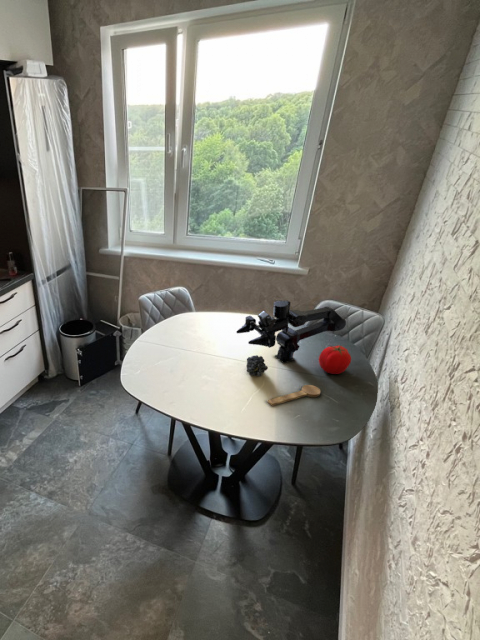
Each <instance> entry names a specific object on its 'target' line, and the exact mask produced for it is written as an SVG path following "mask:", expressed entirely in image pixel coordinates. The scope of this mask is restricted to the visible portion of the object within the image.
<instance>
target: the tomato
mask: <svg viewBox="0 0 480 640" xmlns="http://www.w3.org/2000/svg"><path fill="white" fill-rule="evenodd" d="M328 345H329V344H328ZM351 362H352V356H351V354H350V353H349V351H348V348H346V347H345V346H342V345H335V346H333V345H329V346H327V347H325V348H324V349H323V350H322V351H321V352H320V354H319V356H318V363H319V366H320V368H321V369H322V370H323V371H324V372H326V373H328V374H331V375H339V374H342V373H344V372H345V371H346V370H347V368H348V367H349V366H350V365H351Z"/></svg>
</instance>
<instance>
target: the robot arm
mask: <svg viewBox="0 0 480 640" xmlns="http://www.w3.org/2000/svg"><path fill="white" fill-rule="evenodd" d="M290 309H291V301H289V300H275V301H274V302H273V312H272V313H273V316H271V315H270V314H269V313H268V312H266V311H264V310H263V311H262V312H260V313H259V314H257V318H258V319H259V320H258V322H257V319H255V318H254V317H253V316H251V315H247V316H246V317H245V319H244V320H245V322H244V324H243V325H242V326H241V327H240V328H238V329H237V330H236V334H245V333H250V332H252V331H254V330H255V331H256V332H257V333H258V334H259V336H258V337H256V338H253V339H251V340H249V341H248V345H255V346H262V347H266V348H267V347H268V348H273V347H275V345H276V344H277V345H279V348H278V350H277V354H275V355H274V358H276V359H277V360H278V361H280V362H282V363H289V362H293V361H295V360H296V358H294V353H295V352H297V351H298V350H299V349H300V345H299V342H300V341H302V340H305V339H307V338H310V337H313V336H316V335H319V334H322V333H324V332H339V331H342V330H343V329H344V328H346V325H347V320H346V319H345V318H343V317H342V316H340V315H339V314H338V313H337V311H336V309H333V308H331V307H330V306H324V307H319V308H315V309H310V310H309V309H308V310H298V309H292V310H290ZM317 320H321V321H318V322H315V323H313V324H310V325H307V326H304V325H305V324H306V323H308V322H313V321H317ZM289 325H290V326H292V327H293V328H298V329H296V330H295V329H293V328H291V327H289ZM301 326H304V327H301ZM299 327H301V328H299ZM276 333H277V335H276Z"/></svg>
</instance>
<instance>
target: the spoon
mask: <svg viewBox="0 0 480 640" xmlns="http://www.w3.org/2000/svg"><path fill="white" fill-rule="evenodd" d="M321 391H322V390H321V389H320V388H319V387H318V386H316V385H312V384H305V385H304V384H303V386H302V388H301V390H298V391H294V392H291V393H287V394H284V395H280V396H277V397H274V398H271V399H268V400H267V403H268V404H269V405H270V406H272V407H274V406H276V405H279V404H283V403H287V402H289V401H293V400H297V399H300V398H304V397H310V398H317V397H319V396H320V395H321Z"/></svg>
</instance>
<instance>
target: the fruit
mask: <svg viewBox="0 0 480 640" xmlns="http://www.w3.org/2000/svg"><path fill="white" fill-rule="evenodd" d="M265 361H266V360H265V359H264V357H263V356H262V355H257V354H255V355H251V356H248V357H247V358H246V372H247V373H248V375H249V376H254V377H256V376H257V377H262V375H263V374H264V373H265V371H267V370H268V369H269V367H268V366H267V365H266V363H265Z"/></svg>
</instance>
